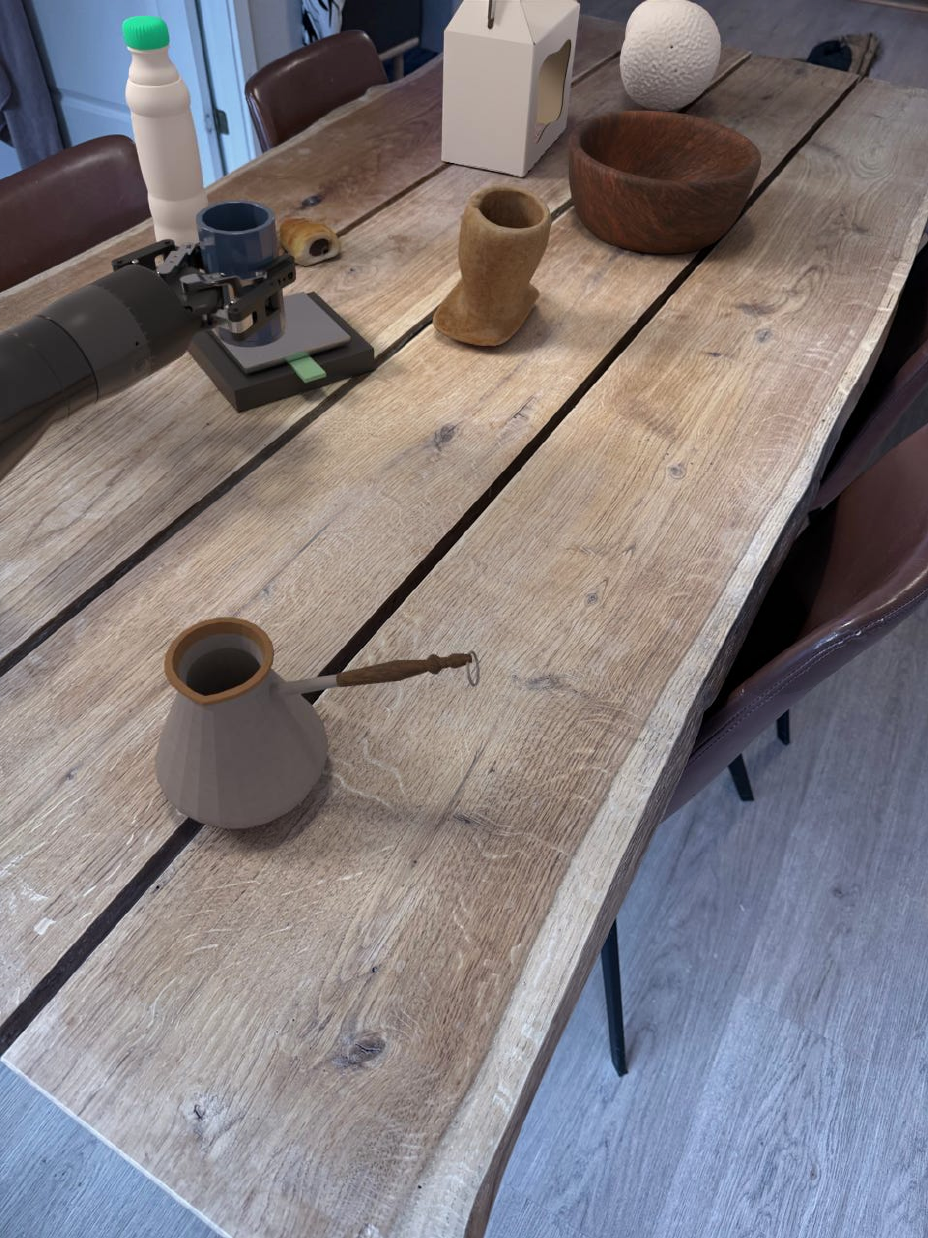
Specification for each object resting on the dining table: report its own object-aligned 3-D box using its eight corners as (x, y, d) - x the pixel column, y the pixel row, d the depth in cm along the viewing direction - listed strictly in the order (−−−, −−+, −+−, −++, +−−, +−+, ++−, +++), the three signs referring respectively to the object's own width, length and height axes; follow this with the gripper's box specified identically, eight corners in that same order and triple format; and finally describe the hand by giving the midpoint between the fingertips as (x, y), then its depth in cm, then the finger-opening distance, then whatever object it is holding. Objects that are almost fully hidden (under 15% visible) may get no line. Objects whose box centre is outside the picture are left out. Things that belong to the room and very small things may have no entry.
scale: (246, 423, 91) (241, 398, 89) (185, 348, 100) (180, 324, 97) (384, 378, 97) (383, 354, 95) (316, 311, 106) (314, 288, 104)
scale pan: (245, 374, 91) (244, 367, 91) (203, 324, 97) (201, 317, 97) (350, 343, 96) (350, 336, 95) (304, 297, 102) (303, 290, 101)
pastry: (267, 239, 118) (264, 209, 115) (314, 228, 120) (312, 199, 117) (299, 269, 112) (296, 239, 110) (347, 258, 115) (346, 228, 112)
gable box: (490, 114, 151) (502, -97, 130) (566, 128, 148) (591, -86, 127) (440, 162, 136) (445, -67, 116) (523, 179, 134) (543, -53, 113)
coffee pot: (140, 838, 60) (78, 701, 49) (191, 700, 67) (147, 554, 56) (462, 871, 59) (473, 739, 48) (476, 727, 67) (488, 586, 56)
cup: (232, 354, 78) (214, 240, 70) (204, 321, 81) (184, 209, 74) (298, 336, 80) (287, 223, 73) (268, 304, 83) (254, 194, 76)
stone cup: (517, 365, 100) (530, 231, 89) (419, 339, 103) (420, 205, 92) (562, 304, 109) (579, 175, 98) (472, 281, 112) (478, 154, 101)
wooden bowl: (648, 283, 114) (664, 200, 106) (523, 209, 127) (530, 130, 119) (779, 236, 124) (803, 157, 116) (652, 171, 137) (665, 97, 130)
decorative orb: (658, 135, 147) (679, 22, 135) (578, 103, 156) (592, -6, 144) (731, 109, 157) (757, 1, 145) (652, 81, 165) (670, -24, 153)
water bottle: (223, 254, 114) (186, 25, 96) (168, 265, 112) (119, 32, 93) (204, 231, 118) (165, 7, 100) (151, 241, 116) (101, 13, 97)
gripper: (170, 320, 62) (324, 233, 72) (30, 259, 67) (191, 186, 77) (190, 411, 68) (330, 319, 78) (59, 349, 73) (206, 270, 83)
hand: (260, 253), depth 77 cm, fingers closed on cup, 6 cm apart
